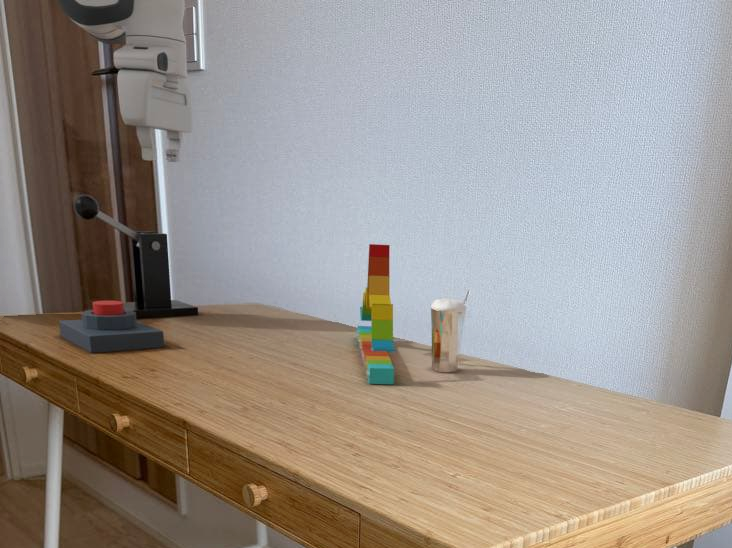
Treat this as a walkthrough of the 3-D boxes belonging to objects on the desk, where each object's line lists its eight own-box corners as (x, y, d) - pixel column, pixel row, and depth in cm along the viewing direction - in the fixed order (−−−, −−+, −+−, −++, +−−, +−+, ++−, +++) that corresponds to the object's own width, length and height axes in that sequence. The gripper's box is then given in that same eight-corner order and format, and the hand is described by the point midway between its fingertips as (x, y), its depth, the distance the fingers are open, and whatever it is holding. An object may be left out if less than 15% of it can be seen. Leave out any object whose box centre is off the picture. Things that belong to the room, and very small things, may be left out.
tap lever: (74, 212, 126) (84, 190, 126) (67, 210, 129) (76, 189, 128) (155, 259, 136) (165, 239, 136) (147, 257, 139) (156, 237, 138)
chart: (355, 338, 127) (357, 234, 121) (376, 339, 128) (379, 235, 122) (367, 384, 100) (371, 252, 94) (393, 384, 100) (399, 253, 94)
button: (89, 314, 115) (88, 301, 114) (118, 312, 117) (117, 299, 117) (99, 318, 112) (98, 305, 111) (128, 316, 114) (127, 303, 114)
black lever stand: (128, 319, 134) (121, 234, 129) (109, 311, 140) (101, 230, 135) (198, 315, 141) (194, 234, 136) (176, 307, 147) (171, 230, 142)
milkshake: (473, 371, 109) (479, 293, 105) (439, 374, 106) (443, 294, 102) (454, 365, 112) (460, 288, 108) (420, 367, 110) (425, 289, 106)
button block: (60, 336, 118) (57, 307, 116) (129, 331, 124) (127, 304, 122) (91, 353, 109) (88, 322, 107) (164, 347, 114) (162, 317, 113)
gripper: (164, 69, 137) (168, 161, 143) (107, 51, 119) (114, 158, 124) (201, 72, 137) (203, 164, 142) (149, 54, 118) (155, 161, 123)
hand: (161, 161), depth 133 cm, fingers open, 8 cm apart
